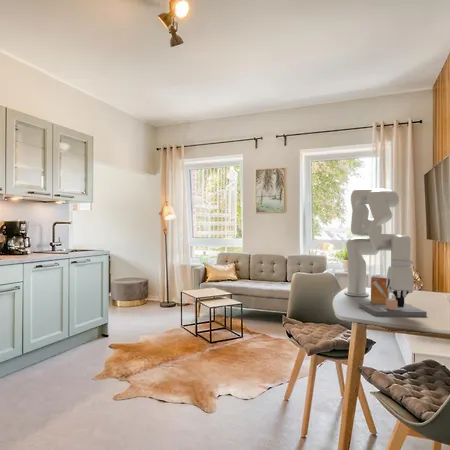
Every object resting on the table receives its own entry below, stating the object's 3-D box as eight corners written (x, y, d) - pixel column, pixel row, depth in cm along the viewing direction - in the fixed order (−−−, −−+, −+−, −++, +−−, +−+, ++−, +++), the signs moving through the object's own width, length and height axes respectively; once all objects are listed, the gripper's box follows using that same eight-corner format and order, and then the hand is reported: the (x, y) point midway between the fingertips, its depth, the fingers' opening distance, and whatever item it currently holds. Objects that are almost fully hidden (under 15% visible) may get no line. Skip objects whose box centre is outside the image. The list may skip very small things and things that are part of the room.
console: (359, 307, 164) (359, 303, 164) (405, 307, 165) (405, 303, 165) (375, 316, 148) (375, 311, 148) (426, 316, 149) (426, 311, 149)
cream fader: (391, 303, 164) (391, 294, 164) (397, 303, 164) (397, 294, 164) (396, 304, 160) (396, 295, 160) (402, 304, 160) (402, 295, 160)
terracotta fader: (385, 307, 154) (385, 298, 154) (392, 307, 154) (392, 298, 154) (390, 310, 150) (390, 300, 150) (397, 310, 150) (397, 300, 150)
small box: (370, 303, 175) (370, 276, 175) (372, 300, 180) (372, 275, 180) (388, 305, 171) (388, 278, 171) (389, 302, 176) (390, 276, 176)
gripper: (412, 263, 156) (411, 304, 156) (379, 262, 155) (378, 304, 155) (422, 264, 149) (422, 308, 149) (388, 264, 148) (387, 308, 148)
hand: (399, 306), depth 152 cm, fingers closed
